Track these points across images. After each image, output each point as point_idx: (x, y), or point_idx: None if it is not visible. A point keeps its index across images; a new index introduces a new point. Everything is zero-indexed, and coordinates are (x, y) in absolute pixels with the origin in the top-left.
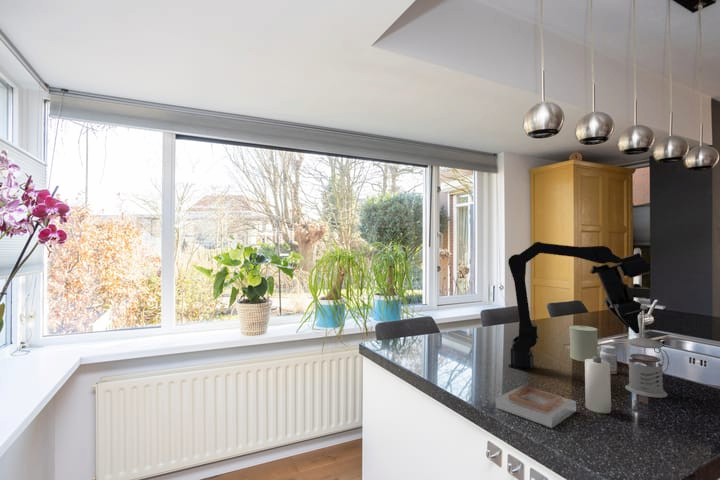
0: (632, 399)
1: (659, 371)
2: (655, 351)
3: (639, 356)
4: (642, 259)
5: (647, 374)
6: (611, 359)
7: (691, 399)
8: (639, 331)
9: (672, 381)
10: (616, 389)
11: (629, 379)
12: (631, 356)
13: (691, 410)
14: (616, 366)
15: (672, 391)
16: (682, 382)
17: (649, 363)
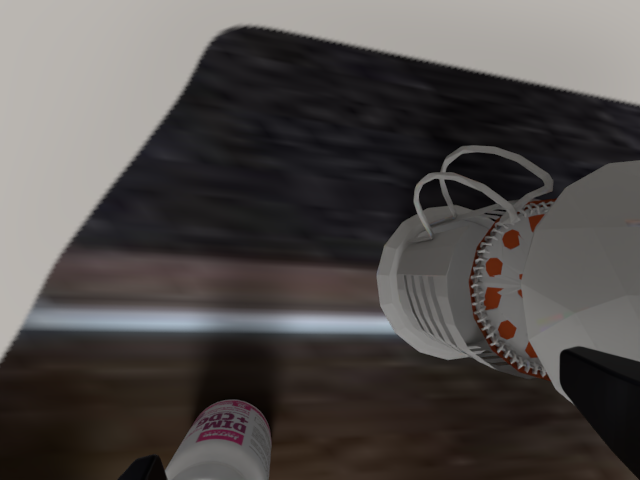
0: None
1: (465, 216)
2: (509, 216)
3: (514, 319)
4: None
5: (414, 270)
6: (265, 460)
7: (457, 130)
8: (593, 349)
9: (227, 163)
10: (510, 392)
11: (484, 350)
12: None
13: (588, 151)
14: (241, 414)
15: (393, 182)
16: (217, 124)
17: (441, 259)
